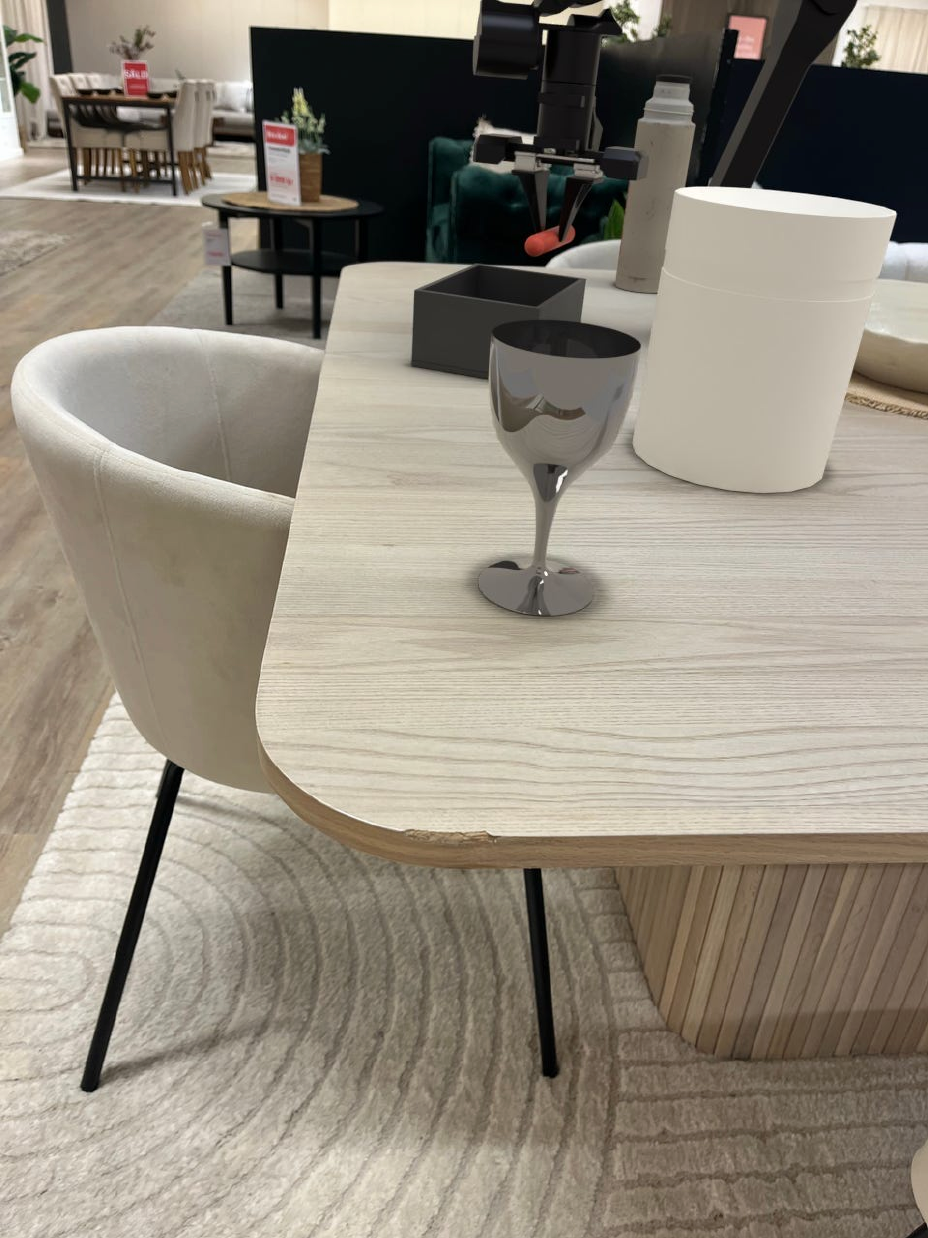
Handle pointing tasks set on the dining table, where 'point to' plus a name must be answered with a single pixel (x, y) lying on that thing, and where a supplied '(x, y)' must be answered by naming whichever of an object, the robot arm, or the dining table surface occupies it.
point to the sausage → (547, 241)
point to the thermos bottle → (656, 183)
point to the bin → (484, 313)
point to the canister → (756, 334)
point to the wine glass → (554, 438)
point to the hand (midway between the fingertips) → (550, 239)
